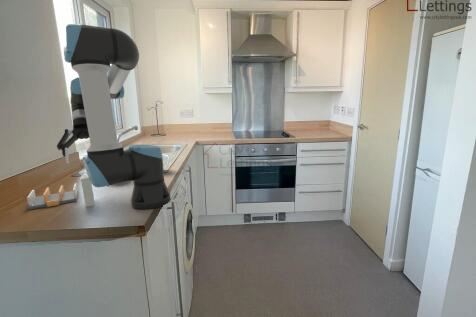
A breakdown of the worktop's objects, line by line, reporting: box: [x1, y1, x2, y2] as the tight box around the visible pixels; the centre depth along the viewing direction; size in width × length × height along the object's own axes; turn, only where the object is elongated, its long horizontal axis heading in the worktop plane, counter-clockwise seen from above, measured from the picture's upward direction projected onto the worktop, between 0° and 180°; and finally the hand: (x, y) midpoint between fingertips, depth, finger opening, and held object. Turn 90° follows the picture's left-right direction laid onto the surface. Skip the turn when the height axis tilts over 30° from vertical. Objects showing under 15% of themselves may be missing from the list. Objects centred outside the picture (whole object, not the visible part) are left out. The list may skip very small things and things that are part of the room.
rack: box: [26, 182, 79, 210], centre depth 109 cm, size 13×16×5 cm
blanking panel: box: [80, 173, 95, 207], centre depth 104 cm, size 6×3×12 cm, turn 28°
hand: (85, 160), depth 112 cm, fingers open, 13 cm apart
